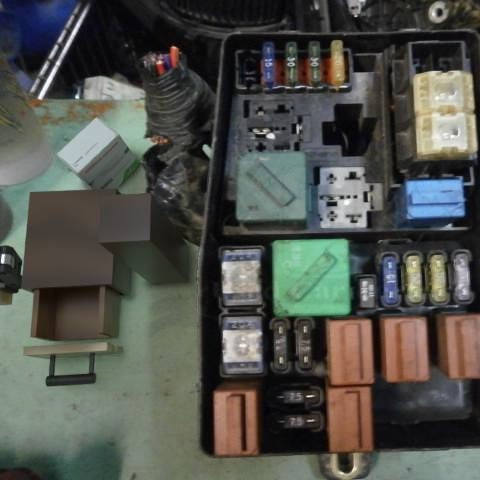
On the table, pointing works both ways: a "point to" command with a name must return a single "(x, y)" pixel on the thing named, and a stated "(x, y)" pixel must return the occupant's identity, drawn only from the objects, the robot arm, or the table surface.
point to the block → (5, 298)
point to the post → (143, 238)
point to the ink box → (99, 156)
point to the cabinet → (69, 243)
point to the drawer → (74, 327)
